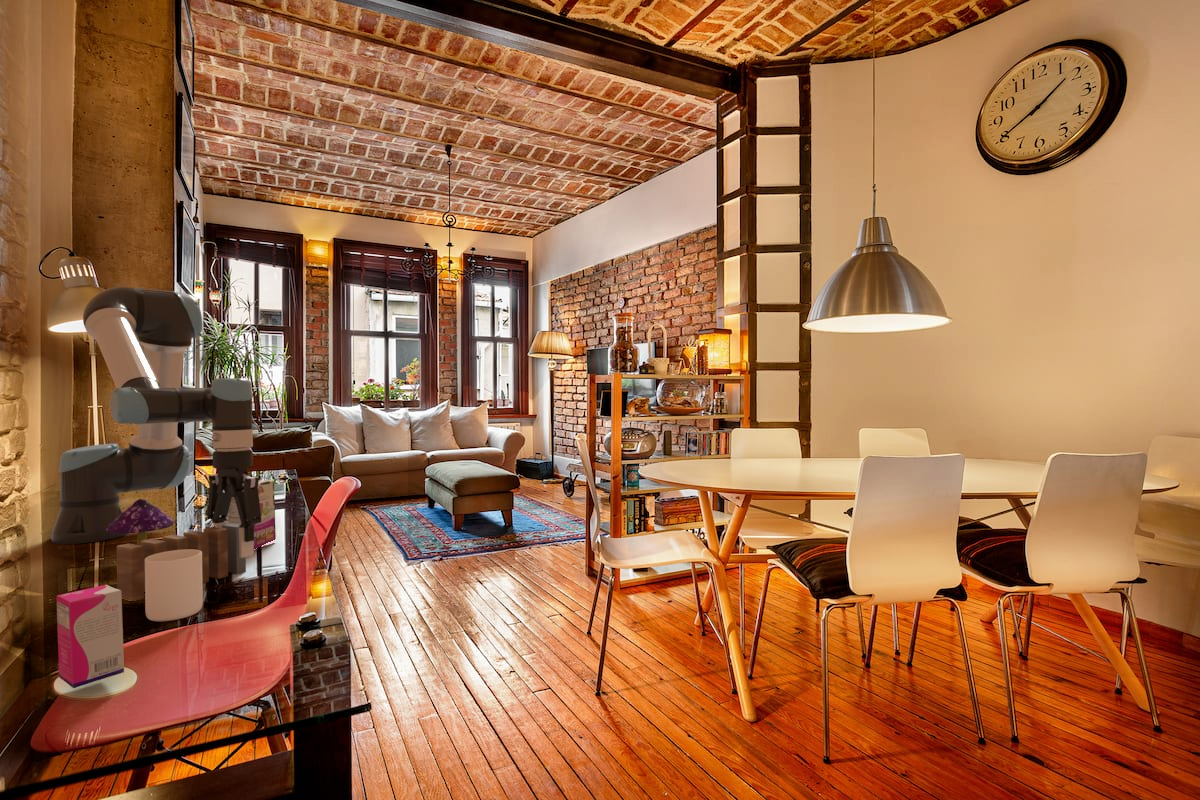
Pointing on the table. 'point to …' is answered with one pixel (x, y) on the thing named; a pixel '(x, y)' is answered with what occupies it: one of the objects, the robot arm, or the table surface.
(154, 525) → the decorative mushroom
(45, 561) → the table surface
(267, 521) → the candy bar box
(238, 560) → the charcoal domino
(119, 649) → the supplement box
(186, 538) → the walnut domino
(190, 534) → the walnut domino
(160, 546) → the walnut domino
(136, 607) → the table surface
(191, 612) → the white oval pot
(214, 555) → the walnut domino
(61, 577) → the table surface
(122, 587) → the walnut domino
